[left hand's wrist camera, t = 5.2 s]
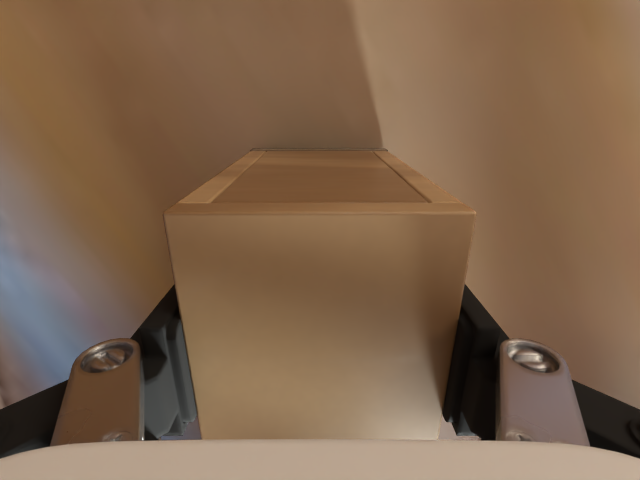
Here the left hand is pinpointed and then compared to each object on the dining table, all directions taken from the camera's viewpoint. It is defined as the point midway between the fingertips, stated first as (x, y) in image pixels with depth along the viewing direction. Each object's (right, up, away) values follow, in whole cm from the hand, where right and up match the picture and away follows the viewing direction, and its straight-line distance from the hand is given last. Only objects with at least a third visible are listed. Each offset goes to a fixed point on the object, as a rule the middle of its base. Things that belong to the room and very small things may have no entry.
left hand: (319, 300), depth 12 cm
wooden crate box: (0, -3, +9) cm, 9 cm away
